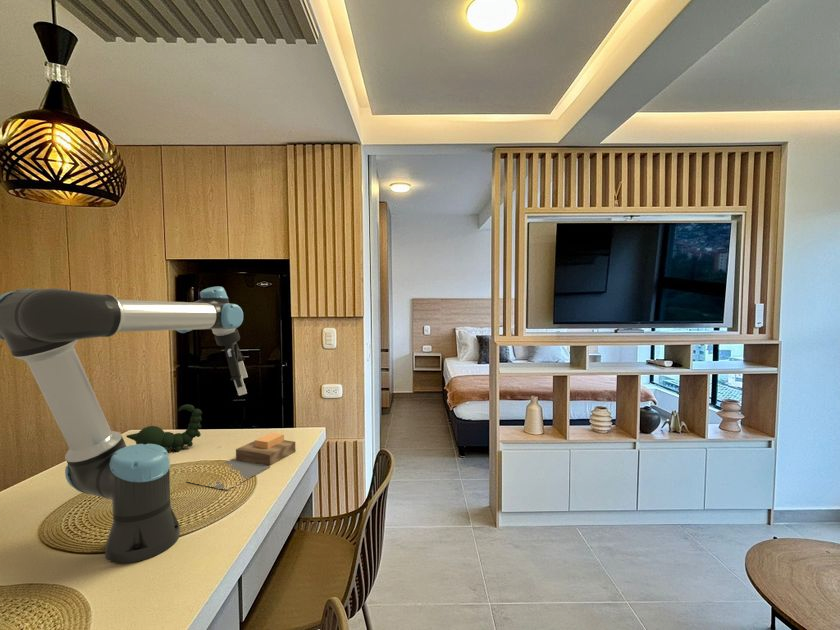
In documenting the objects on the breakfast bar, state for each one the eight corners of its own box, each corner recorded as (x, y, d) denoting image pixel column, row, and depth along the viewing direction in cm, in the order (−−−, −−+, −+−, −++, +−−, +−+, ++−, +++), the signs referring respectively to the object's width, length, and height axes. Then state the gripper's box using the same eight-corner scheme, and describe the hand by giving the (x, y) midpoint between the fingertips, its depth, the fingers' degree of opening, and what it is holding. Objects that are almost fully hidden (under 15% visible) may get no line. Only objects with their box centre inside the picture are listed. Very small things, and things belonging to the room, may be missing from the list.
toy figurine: (198, 446, 172) (125, 454, 157) (201, 401, 172) (128, 405, 158) (200, 452, 164) (124, 462, 150) (203, 405, 164) (127, 410, 150)
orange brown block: (267, 448, 152) (267, 442, 152) (255, 446, 154) (255, 440, 154) (284, 440, 160) (283, 434, 160) (272, 438, 162) (271, 432, 162)
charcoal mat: (227, 491, 127) (227, 490, 127) (185, 482, 134) (185, 481, 134) (270, 467, 145) (270, 466, 145) (232, 460, 151) (231, 459, 151)
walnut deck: (270, 465, 146) (269, 454, 146) (236, 459, 152) (235, 449, 152) (295, 451, 159) (295, 441, 159) (263, 446, 165) (263, 437, 165)
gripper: (235, 340, 129) (254, 398, 136) (238, 318, 151) (254, 368, 158) (210, 347, 126) (230, 405, 134) (217, 323, 149) (234, 374, 156)
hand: (243, 385), depth 146 cm, fingers open, 13 cm apart
